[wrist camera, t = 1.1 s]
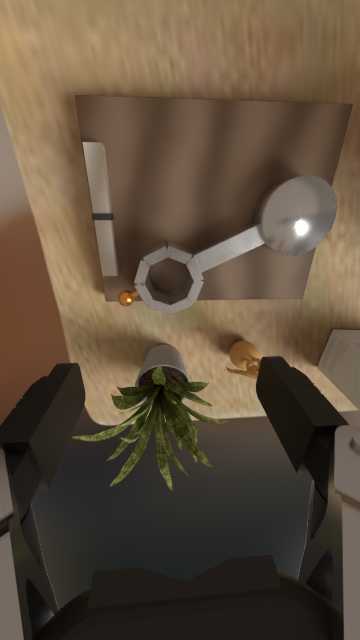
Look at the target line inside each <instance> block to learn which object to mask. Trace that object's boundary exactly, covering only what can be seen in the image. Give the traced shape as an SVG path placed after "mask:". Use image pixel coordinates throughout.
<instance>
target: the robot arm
mask: <svg viewBox="0 0 360 640" xmlns="http://www.w3.org/2000/svg"><path fill="white" fill-rule="evenodd" d="M256 392H257V396H258V399H259V401H260V403H261V405H262V407H263V408H264V410H265V412H266V414H267V416H268V418H269V420H270V422H271V424H272V426H273V428H274V430H275V432H276V434H277V436H278V438H279V440H280V442H281V443H282V445H283V447H284V449H285V451H286V453H287V455H288V457H289V459H290V461H291V463H292V465H293V467H294V469H295V471H296V473H310V475H311V476H312V478H313V482H312V485H311V494H310V504H309V515H308V525H307V536H306V544H305V550H304V553H303V557H302V560H301V565H300V570H299V576H298V579H296V578H294V577H292V576H290V575H288V574H286V573H283V572H281V571H278V570H276V567H275V563H274V560H273V557H272V555H265V556H254V557H244V558H235V559H229V560H227V561H225V562H223V563H221V564H219V565H217V566H215V567H213V568H211V569H209V570H207V571H205V572H203V573H201V574H200V575H197V576H196V577H194V578H192V579H189V580H180V579H177V578H174V577H170V576H166V575H163V574H159V573H156V572H153V571H149V570H146V569H142V568H130V569H120V570H109V571H99V572H94V573H93V579H92V584H91V588H90V589H88V590H86V591H84V592H82V593H81V594H79V595H78V596H76V597H75V598H73V599H72V600H71V601H69V602H68V603H67V604H66V605H65V606H64V607H62V608H61V609H60V610H59V611H58V607H57V603H56V599H55V595H54V592H53V589H52V586H51V583H50V580H49V578H48V575H47V571H46V568H45V564H44V560H43V555H42V550H41V546H40V541H39V537H38V532H37V528H36V523H35V519H34V514H33V510H32V506H31V501H32V499H33V497H34V495H35V492H36V491H43V490H50V488H51V485H52V483H53V481H54V478H55V475H56V473H57V471H58V468H59V465H60V463H61V461H62V458H63V456H64V453H65V451H66V448H67V446H68V443H69V441H70V438H71V436H72V434H73V431H74V429H75V426H76V424H77V421H78V419H79V416H80V414H81V411H82V409H83V406H84V403H85V388H84V384H83V380H82V375H81V371H80V367H79V365H78V363H60V364H56V365H55V367H54V368H53V370H52V371H51V372H50V374H49V375H48V376H47V377H46V376H45V377H42V378H40V379H39V380H38V381H36V382H35V383H34V384H32V385H31V386H30V387H29V389H28V390H27V392H26V393H25V394H24V395H23V398H22V399H20V401H19V402H18V403H17V405H16V408H14V409H13V410H12V411H11V413H10V414H9V415H8V417H7V418H6V419H5V420H4V422H3V423H2V424H1V426H0V640H360V428H359V427H355V426H350V425H349V424H348V423H347V421H346V420H345V419H344V418H343V417H342V416H341V415H340V414H339V412H338V411H337V410H336V409H335V408H334V407H333V406H332V404H331V403H330V402H329V401H328V400H327V399H326V398H325V396H324V395H323V394H321V392H320V391H319V390H318V388H317V387H316V386H314V384H313V383H312V382H311V380H310V379H309V378H308V377H307V376H306V375H305V374H303V373H302V372H300V371H299V370H297V369H296V368H294V367H290V366H289V365H288V363H287V362H286V361H285V360H284V359H283V357H281V356H272V357H262V359H261V362H260V367H259V372H258V377H257V382H256Z"/></svg>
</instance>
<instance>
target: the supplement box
mask: <svg viewBox="0 0 360 640" xmlns="http://www.w3.org/2000/svg"><path fill="white" fill-rule="evenodd" d="M318 369H319V370H320V371H321V372H322V373H323V374H324V375H325V376H326V377H327V378H328V379H329V380H330V381H331V382H332V383H333V384H334V385H335V386H336V387H337V388H338V389H339V390H340V391H341V392H342V393H343V394H344V395H345V396H346V397H347V398H348V399H349V400H350V401H351V402H352V403H353V404H354V405H355V406H356V407H357V408H358V409H359V410H360V330H337V329H334V330H333V331H332V333H331V335H330V337H329V340H328V342H327V344H326V347H325V349H324V351H323V354H322V356H321V359H320V361H319V363H318Z"/></svg>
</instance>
